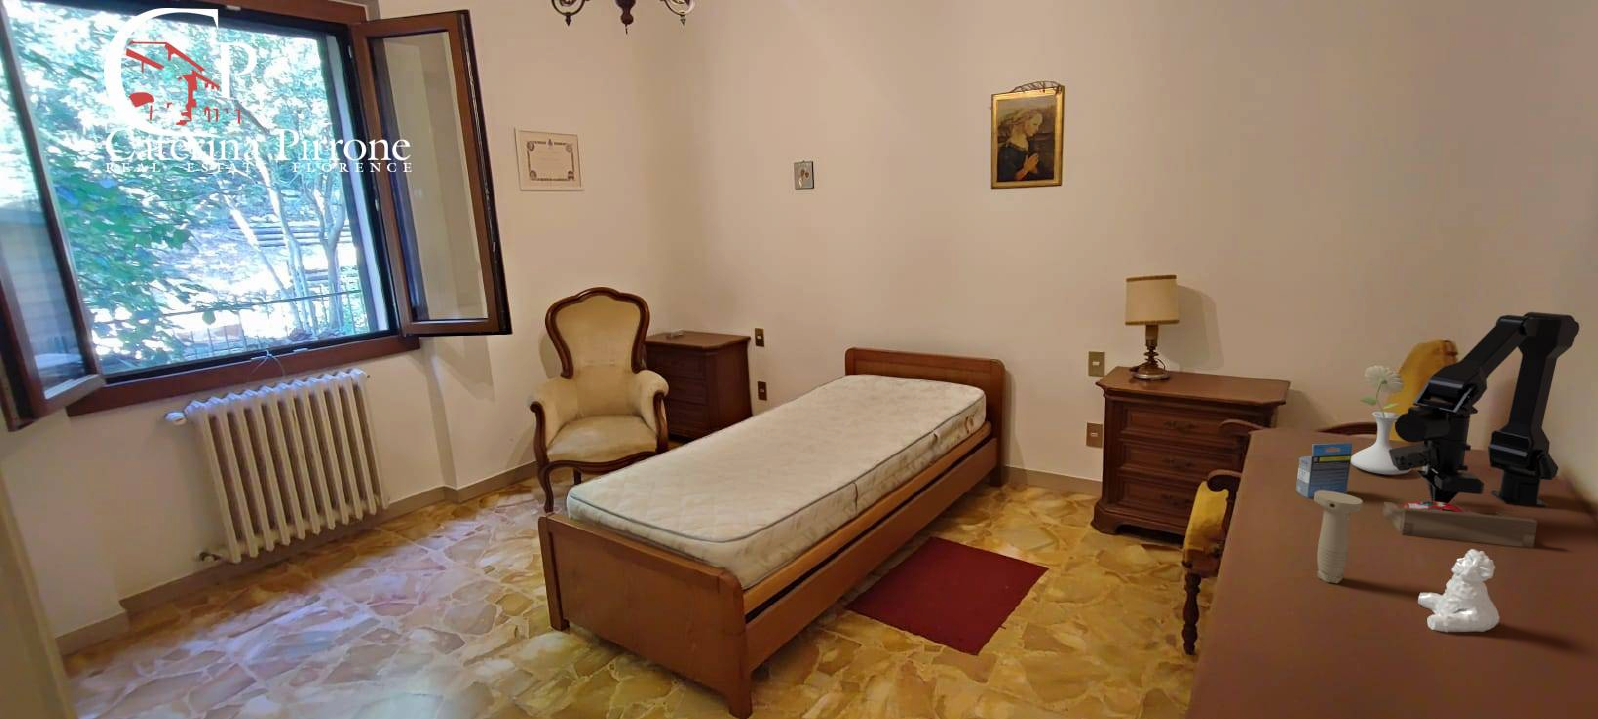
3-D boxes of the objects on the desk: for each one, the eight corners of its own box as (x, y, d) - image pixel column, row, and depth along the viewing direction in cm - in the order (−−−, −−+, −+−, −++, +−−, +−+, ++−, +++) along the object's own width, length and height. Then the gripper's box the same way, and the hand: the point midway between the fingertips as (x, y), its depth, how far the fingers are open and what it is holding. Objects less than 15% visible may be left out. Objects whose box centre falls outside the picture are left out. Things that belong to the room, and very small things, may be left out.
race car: (1484, 523, 139) (1487, 504, 138) (1495, 534, 134) (1498, 515, 133) (1398, 513, 145) (1401, 494, 144) (1406, 523, 140) (1409, 504, 140)
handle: (1346, 591, 117) (1356, 506, 114) (1302, 577, 122) (1310, 495, 119) (1357, 582, 119) (1366, 498, 117) (1312, 568, 125) (1321, 488, 122)
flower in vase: (1424, 478, 162) (1437, 372, 157) (1373, 479, 162) (1386, 374, 158) (1378, 459, 175) (1390, 361, 170) (1332, 461, 175) (1342, 363, 170)
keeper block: (1382, 513, 145) (1385, 490, 144) (1503, 524, 138) (1506, 500, 137) (1402, 534, 135) (1405, 510, 135) (1533, 547, 128) (1537, 522, 127)
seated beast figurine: (1414, 600, 113) (1423, 531, 111) (1486, 613, 109) (1497, 541, 107) (1428, 630, 105) (1439, 556, 103) (1507, 645, 101) (1520, 568, 99)
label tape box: (1333, 489, 158) (1338, 437, 156) (1347, 496, 154) (1353, 442, 152) (1294, 491, 158) (1299, 439, 156) (1308, 498, 154) (1313, 444, 152)
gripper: (1380, 420, 151) (1372, 489, 154) (1414, 447, 135) (1405, 523, 138) (1446, 424, 147) (1436, 494, 150) (1490, 452, 130) (1478, 530, 133)
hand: (1437, 509), depth 143 cm, fingers closed
